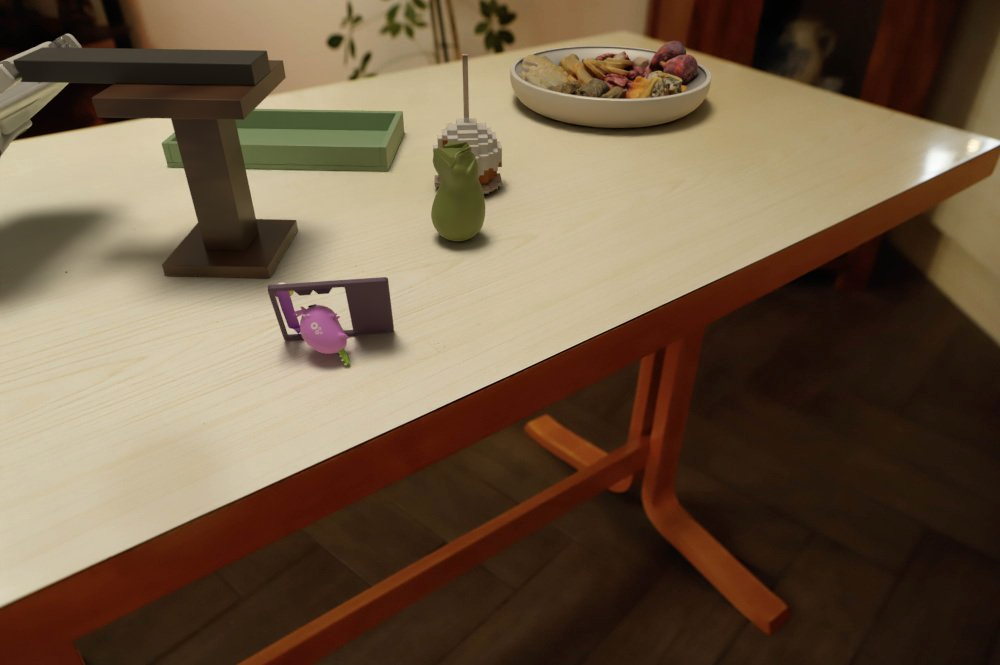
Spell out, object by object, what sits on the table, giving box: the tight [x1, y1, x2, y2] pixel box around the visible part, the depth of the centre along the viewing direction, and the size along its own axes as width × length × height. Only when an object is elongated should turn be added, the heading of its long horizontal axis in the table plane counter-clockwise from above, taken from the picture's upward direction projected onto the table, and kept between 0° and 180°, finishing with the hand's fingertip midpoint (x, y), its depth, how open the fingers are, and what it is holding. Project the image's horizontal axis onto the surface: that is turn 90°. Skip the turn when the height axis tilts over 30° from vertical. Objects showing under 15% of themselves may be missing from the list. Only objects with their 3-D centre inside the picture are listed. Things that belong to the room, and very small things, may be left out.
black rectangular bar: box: [13, 47, 270, 86], centre depth 62 cm, size 20×4×2 cm, turn 88°
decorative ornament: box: [432, 53, 503, 195], centre depth 81 cm, size 8×8×15 cm
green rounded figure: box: [430, 141, 486, 242], centre depth 72 cm, size 6×5×10 cm
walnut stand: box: [91, 59, 299, 279], centre depth 67 cm, size 12×12×17 cm
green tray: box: [161, 108, 405, 172], centre depth 94 cm, size 28×14×3 cm, turn 88°
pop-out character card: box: [267, 276, 395, 366], centre depth 56 cm, size 7×5×9 cm
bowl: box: [509, 40, 712, 129], centre depth 109 cm, size 30×30×8 cm
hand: (43, 55), depth 61 cm, fingers open, 8 cm apart
